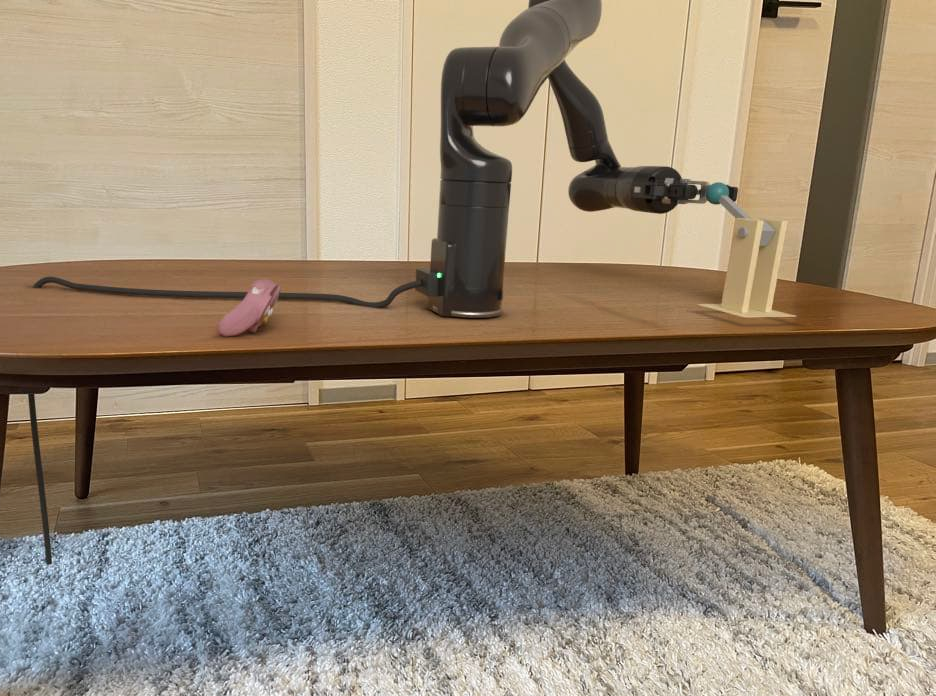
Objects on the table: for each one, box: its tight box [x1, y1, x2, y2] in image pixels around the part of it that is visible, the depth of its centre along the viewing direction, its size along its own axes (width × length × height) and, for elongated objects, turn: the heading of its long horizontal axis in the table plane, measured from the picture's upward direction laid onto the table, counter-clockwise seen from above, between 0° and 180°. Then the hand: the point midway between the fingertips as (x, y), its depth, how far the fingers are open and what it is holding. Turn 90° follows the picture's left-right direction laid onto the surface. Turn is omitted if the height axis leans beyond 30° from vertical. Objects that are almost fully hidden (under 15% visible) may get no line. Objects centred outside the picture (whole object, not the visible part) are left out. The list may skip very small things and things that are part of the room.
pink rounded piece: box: [217, 278, 282, 337], centre depth 89 cm, size 10×5×7 cm, turn 179°
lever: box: [706, 181, 775, 246], centre depth 111 cm, size 14×3×3 cm, turn 16°
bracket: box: [696, 218, 796, 318], centre depth 109 cm, size 10×9×14 cm
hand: (712, 193), depth 116 cm, fingers open, 8 cm apart
